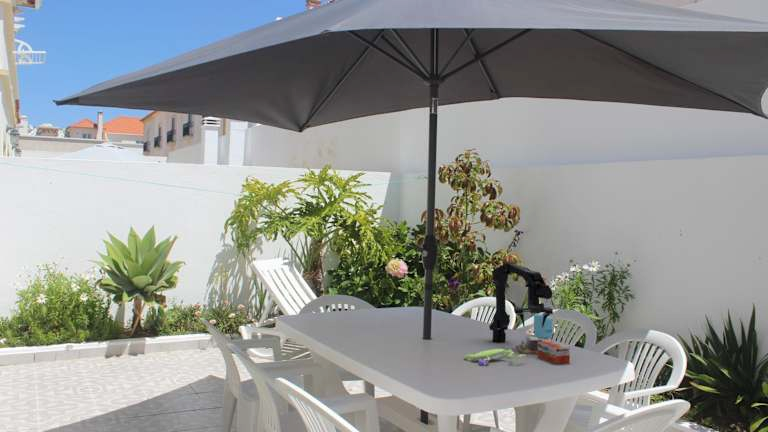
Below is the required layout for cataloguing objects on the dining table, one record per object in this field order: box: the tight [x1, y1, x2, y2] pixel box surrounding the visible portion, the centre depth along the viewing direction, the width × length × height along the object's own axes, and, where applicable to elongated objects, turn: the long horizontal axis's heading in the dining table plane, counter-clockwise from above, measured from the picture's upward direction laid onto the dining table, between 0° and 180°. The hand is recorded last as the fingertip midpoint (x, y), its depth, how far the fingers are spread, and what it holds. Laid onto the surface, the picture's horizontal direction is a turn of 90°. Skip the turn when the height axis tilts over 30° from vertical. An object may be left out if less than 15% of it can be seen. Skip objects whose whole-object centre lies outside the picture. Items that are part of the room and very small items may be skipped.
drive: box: [525, 336, 543, 351], centre depth 337 cm, size 6×10×5 cm, turn 179°
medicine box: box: [537, 340, 570, 365], centre depth 316 cm, size 15×8×8 cm, turn 20°
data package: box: [533, 313, 553, 339], centre depth 374 cm, size 12×4×12 cm, turn 19°
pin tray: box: [515, 340, 538, 355], centre depth 337 cm, size 16×16×4 cm
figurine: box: [463, 348, 527, 367], centre depth 314 cm, size 18×27×6 cm
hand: (533, 327), depth 338 cm, fingers open, 9 cm apart
